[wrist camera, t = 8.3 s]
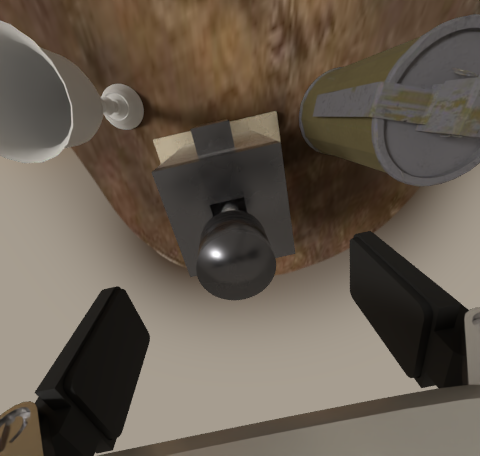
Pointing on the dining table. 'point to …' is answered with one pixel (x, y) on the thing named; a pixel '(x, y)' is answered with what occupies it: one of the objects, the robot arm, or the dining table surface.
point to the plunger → (234, 255)
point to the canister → (404, 107)
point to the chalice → (52, 101)
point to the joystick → (224, 180)
